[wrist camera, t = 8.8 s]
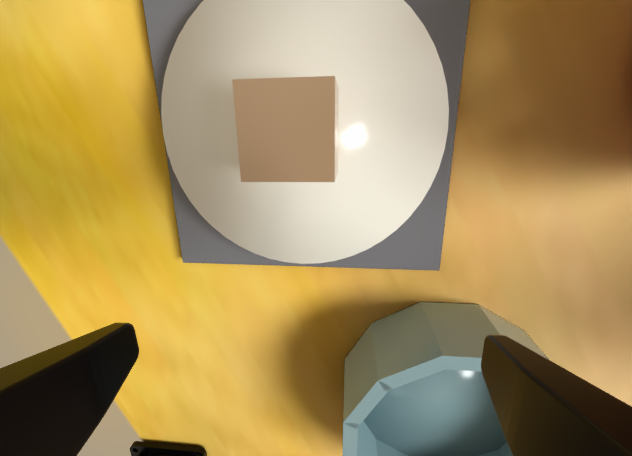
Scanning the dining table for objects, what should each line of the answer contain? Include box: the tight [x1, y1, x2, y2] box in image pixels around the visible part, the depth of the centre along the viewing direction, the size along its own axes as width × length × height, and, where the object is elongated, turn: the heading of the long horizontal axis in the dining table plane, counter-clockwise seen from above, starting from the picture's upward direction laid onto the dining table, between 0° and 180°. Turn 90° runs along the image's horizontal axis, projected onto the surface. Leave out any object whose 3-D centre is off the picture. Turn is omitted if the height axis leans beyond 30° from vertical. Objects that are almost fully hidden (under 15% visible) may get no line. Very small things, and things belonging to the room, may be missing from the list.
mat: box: [143, 0, 470, 270], centre depth 17 cm, size 16×16×1 cm
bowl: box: [343, 302, 549, 456], centre depth 19 cm, size 13×13×5 cm
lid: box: [161, 0, 449, 264], centre depth 15 cm, size 15×15×5 cm
